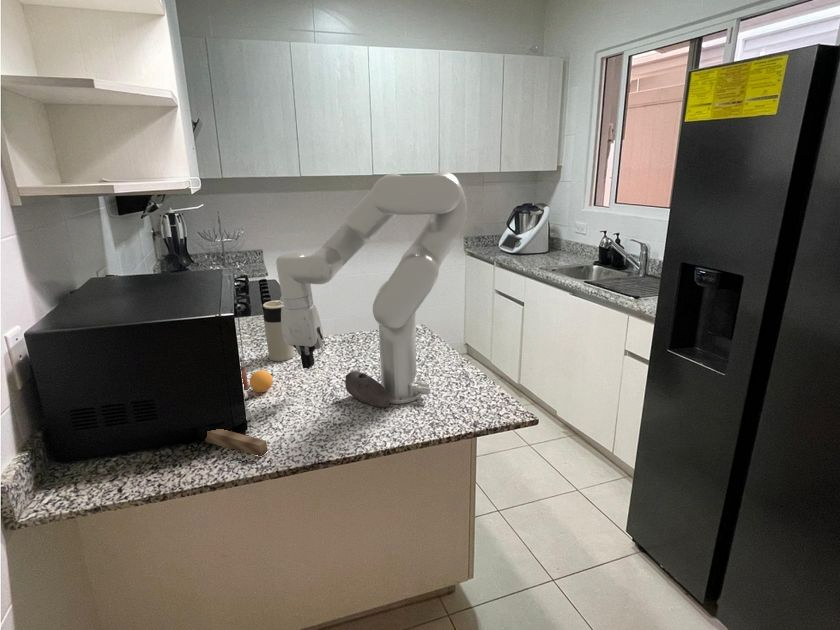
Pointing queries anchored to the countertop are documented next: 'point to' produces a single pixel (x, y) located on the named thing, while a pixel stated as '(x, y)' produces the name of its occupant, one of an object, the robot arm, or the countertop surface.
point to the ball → (261, 381)
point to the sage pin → (248, 415)
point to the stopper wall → (237, 441)
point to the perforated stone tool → (366, 389)
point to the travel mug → (276, 332)
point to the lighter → (244, 375)
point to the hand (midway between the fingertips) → (308, 366)
